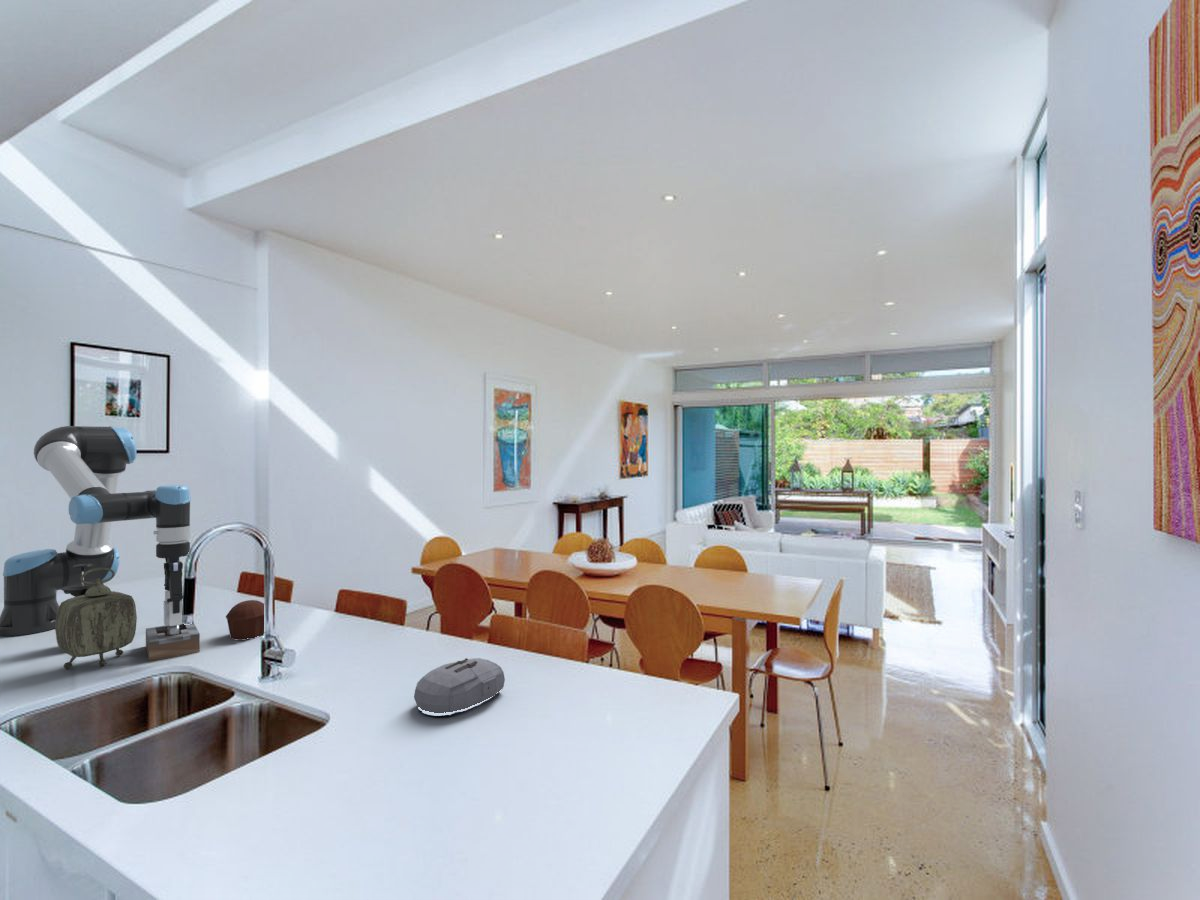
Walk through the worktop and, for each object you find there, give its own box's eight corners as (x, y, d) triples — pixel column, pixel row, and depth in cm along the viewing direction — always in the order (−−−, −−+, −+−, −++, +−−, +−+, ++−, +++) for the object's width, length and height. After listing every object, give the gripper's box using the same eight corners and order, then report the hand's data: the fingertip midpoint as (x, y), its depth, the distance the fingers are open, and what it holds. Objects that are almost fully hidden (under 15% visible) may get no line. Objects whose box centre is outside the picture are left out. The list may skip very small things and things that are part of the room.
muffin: (254, 642, 170) (254, 607, 170) (216, 641, 170) (216, 607, 170) (277, 629, 181) (277, 596, 181) (242, 628, 182) (242, 596, 182)
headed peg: (160, 651, 161) (160, 600, 161) (183, 647, 165) (183, 597, 165) (162, 656, 157) (162, 604, 157) (185, 652, 161) (185, 601, 161)
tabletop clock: (124, 652, 160) (124, 561, 160) (139, 659, 156) (139, 565, 155) (55, 670, 148) (55, 571, 148) (69, 677, 143) (69, 575, 143)
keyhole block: (145, 646, 165) (145, 628, 165) (192, 638, 173) (192, 621, 172) (149, 661, 154) (149, 642, 154) (199, 651, 161) (199, 633, 161)
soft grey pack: (469, 679, 144) (398, 709, 128) (469, 645, 144) (398, 670, 128) (513, 695, 135) (443, 729, 119) (513, 659, 135) (444, 688, 119)
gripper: (152, 537, 168) (153, 611, 168) (159, 549, 149) (159, 633, 149) (184, 535, 173) (184, 606, 173) (195, 546, 154) (195, 627, 154)
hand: (173, 619), depth 161 cm, fingers open, 13 cm apart
